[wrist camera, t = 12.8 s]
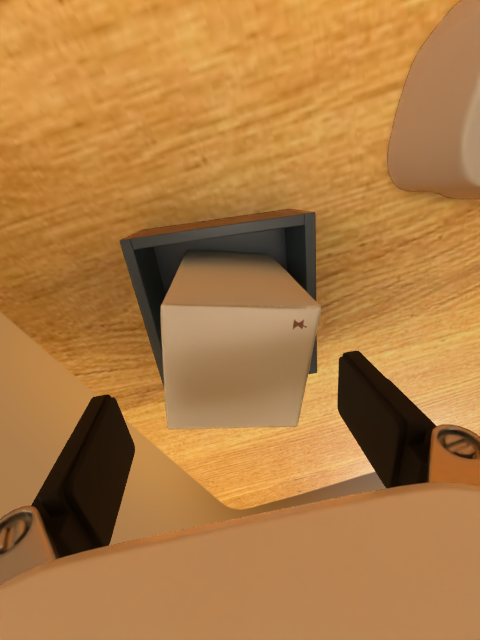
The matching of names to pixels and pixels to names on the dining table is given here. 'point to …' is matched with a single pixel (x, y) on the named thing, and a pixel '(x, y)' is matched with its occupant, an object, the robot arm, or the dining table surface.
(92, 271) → the dining table surface
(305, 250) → the dark grey storage bin
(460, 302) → the dining table surface
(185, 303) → the white packaging box
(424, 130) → the lumpy-topped squat cylinder
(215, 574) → the robot arm
